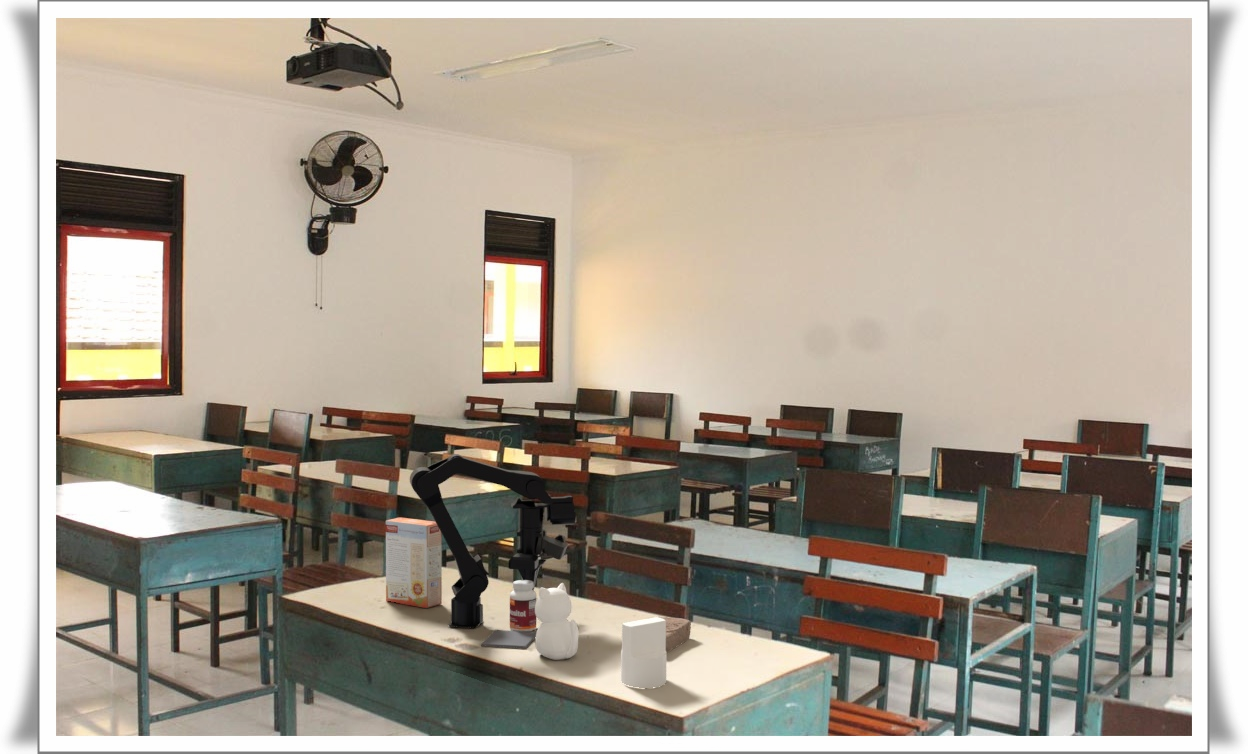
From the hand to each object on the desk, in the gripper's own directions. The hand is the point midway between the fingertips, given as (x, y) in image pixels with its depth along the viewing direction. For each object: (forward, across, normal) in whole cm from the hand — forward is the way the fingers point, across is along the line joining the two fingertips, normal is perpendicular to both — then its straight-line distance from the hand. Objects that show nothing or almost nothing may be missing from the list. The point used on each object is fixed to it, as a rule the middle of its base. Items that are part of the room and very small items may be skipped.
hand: (531, 591), depth 267 cm
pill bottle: (+7, -7, 0) cm, 10 cm away
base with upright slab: (+7, -40, -33) cm, 52 cm away
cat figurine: (+7, -26, -13) cm, 30 cm away
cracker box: (+7, +11, +33) cm, 35 cm away
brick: (+8, -14, -33) cm, 36 cm away
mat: (+7, -17, +1) cm, 18 cm away
